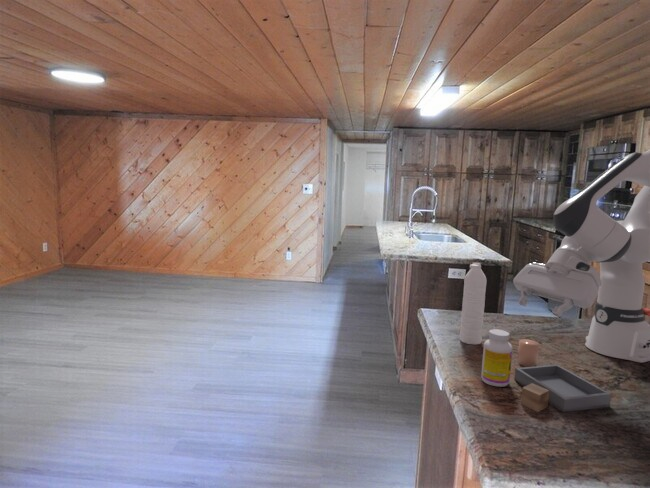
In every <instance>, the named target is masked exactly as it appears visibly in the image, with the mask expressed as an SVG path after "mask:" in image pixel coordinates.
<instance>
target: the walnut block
mask: <svg viewBox="0 0 650 488" xmlns="http://www.w3.org/2000/svg"><path fill="white" fill-rule="evenodd" d="M520 398H521V399H520V405H522V406H524V407H526V408H529V409H530V410H533V411H535V412H537V413H539V412H540V411H542V410H545V409H547V408H548V406H549V402H548V399H549V390H547V389H545V388H542V387H540V386H538V385H535V384H533V383H532V384H529V385H527V386H523V387H521V397H520Z"/></svg>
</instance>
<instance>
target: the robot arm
mask: <svg viewBox="0 0 650 488" xmlns="http://www.w3.org/2000/svg"><path fill="white" fill-rule="evenodd" d="M624 181H625V182H626V181H628V182H632V183H636V184H639V185H642V186H643V187H642V188H641V189H640V190H639V192H638V193H637V195H635V197H634V199H633V203H632V205H631V207H630V209H629V211H628V212H627V215H626V216H625V218H624V219H623V220H616V219H614V218H612V217H611V216H610V215H608V214H607V212H605V211H603V210H602V208H599V206H598V204H597V203H598V201H599V200H601V198H603V197H604V196H605V195H607V194H608V193H609V192H610V191H611V190H613V189H614V188H615V187H617V185H619V184H620V183H621V182H624ZM552 218H553V226H554V229H555V230H556V231H558V232H559V233H561V234H562V235H564V237H563V239H562V240H561V243H560V246H559V247H558V248H557V249H555V251H554V252H553V253H552V255H551V256H550V257H549V259H548V261H547V262H546V263H545V264H544V263H538V262H532V263H528V264H526V265H524V267H523V268H522V269H521V270H520V271H518V273H517V274H516V275H515V276H514V278H513V281H512V282H513V285H514V287H515V289H516V290H517V291H519V292H520V298H519V299H518V301H517V302H518V304H519V305H520V306H523V307H527V305H528V303H529V301H528V299H527V297H529V296H530V295H535V296H538V297H542V298H545V299H548V300H552V301H556V302H559V303H562V304H560V305H559V306H556V305H555V306H554V307H553V309H552V310H551V312H552V314H553V315H554V316H556V317H562V314H563V313H565V312H568V310H570V309H572V308H573V306H575V307H578V308H582V309H585V310H586V309H588V308H591V307H592V305H593V304H594V307H593V308H594V309H593V314H594V315H593V317H592V319H591V323H590V327H589V332H588V335H586V336H585V344H584V345H585V346H586V348H588V349H589V350H591V351H593V352H595V353H598V354H600V355H603V356H607V357H610V358H616V359H621V360H627V361H631V362H635V363H647V362H650V324H649V323H648V322H647V321H646V318H645V316H646V317H647V316H648V317H650V308H647V307H645V308H643V299H644V292H645V286H646V283H645V282H646V281H645V278H644V271H643V263H648V262H650V148H648V150H646V151H643V152H638V151H636V152H632V153H629V154H627V155H625V156H623V157H621V159H619V160H618V161H616V162H615V163H613V164H612V165H610V166H609V167H608V168H607V169H605V171H603V172H602V173H601V174H599V175H598V176H597V177H596V178H594V179H593V180H592V181H591V182H589V183H588V184H587V185H585V186H584V187H583V188H582V189H581V190H579V191H578V192H577V193H576V194H574V195H573V196H572V197H570V198H568V199H567V200H565V201H564V202H562V203H561V204H560V205H559V206H558V207H557V208H556V209H555V211H554V212H553V216H552ZM592 262H593V263H594V262H595V264H596V263H599V272H598V271H597V269H596V267H595V266H594V265H592V264H591V263H592ZM596 299H597V300H596ZM594 302H595V303H594Z"/></svg>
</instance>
